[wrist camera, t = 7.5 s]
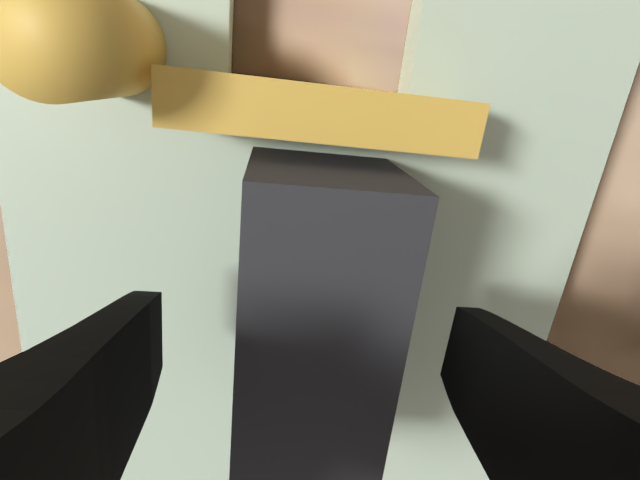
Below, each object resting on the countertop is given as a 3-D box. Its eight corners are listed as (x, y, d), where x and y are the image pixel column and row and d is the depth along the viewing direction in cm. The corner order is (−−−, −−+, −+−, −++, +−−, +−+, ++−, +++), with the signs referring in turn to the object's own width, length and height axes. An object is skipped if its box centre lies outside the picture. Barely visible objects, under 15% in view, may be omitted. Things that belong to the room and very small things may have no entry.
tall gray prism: (348, 402, 14) (374, 517, 11) (240, 400, 14) (227, 520, 10) (386, 158, 12) (439, 196, 8) (253, 146, 11) (242, 181, 7)
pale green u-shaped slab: (470, 514, 18) (529, 645, 14) (63, 520, 16) (-12, 676, 12) (641, -33, 11) (855, -98, 7) (-21, -145, 9) (-262, -326, 5)
